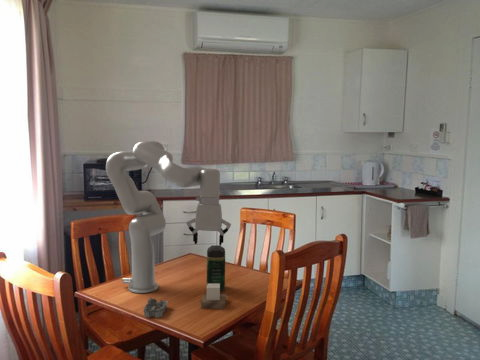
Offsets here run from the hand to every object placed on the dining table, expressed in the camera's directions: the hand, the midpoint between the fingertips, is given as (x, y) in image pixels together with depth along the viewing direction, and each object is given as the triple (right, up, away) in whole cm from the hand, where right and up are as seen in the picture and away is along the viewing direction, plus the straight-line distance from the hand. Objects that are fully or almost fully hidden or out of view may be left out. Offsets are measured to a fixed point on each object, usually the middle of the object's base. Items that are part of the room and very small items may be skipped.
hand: (208, 243), depth 174 cm
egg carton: (-19, -25, -7) cm, 32 cm away
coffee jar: (+2, -22, +18) cm, 28 cm away
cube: (+2, -21, 0) cm, 21 cm away
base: (+2, -24, +1) cm, 24 cm away
